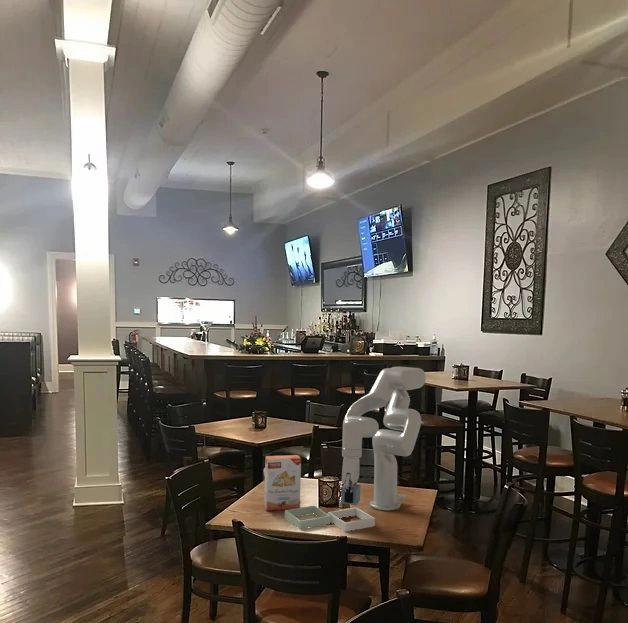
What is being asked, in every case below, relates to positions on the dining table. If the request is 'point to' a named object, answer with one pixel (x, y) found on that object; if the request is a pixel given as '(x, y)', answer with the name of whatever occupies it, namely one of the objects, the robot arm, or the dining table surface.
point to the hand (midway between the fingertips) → (350, 499)
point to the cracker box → (282, 482)
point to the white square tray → (364, 523)
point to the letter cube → (355, 494)
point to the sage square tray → (322, 519)
